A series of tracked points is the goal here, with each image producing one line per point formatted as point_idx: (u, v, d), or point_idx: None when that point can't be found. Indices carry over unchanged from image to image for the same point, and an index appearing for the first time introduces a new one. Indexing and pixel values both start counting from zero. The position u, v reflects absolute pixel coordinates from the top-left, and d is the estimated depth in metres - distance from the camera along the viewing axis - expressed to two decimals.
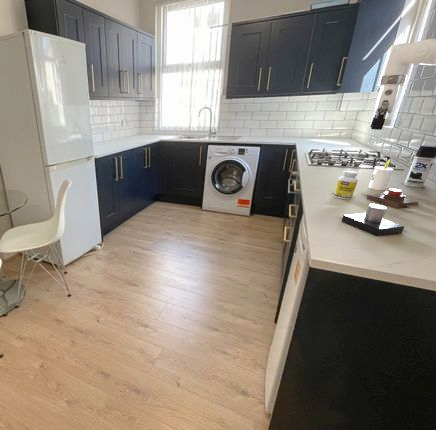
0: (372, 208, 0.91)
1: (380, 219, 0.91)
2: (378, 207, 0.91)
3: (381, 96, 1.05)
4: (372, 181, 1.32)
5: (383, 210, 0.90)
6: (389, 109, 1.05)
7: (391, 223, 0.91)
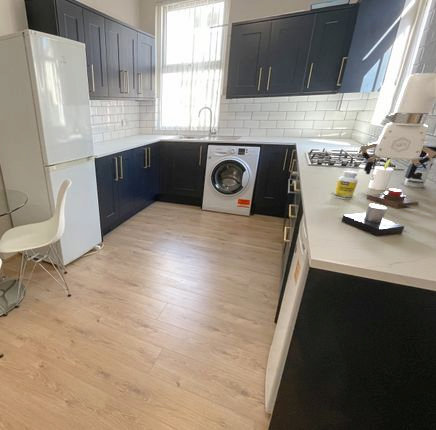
0: (372, 208, 0.91)
1: (380, 219, 0.91)
2: (378, 207, 0.91)
3: None
4: (372, 181, 1.32)
5: (383, 210, 0.90)
6: (375, 151, 0.88)
7: (391, 223, 0.91)
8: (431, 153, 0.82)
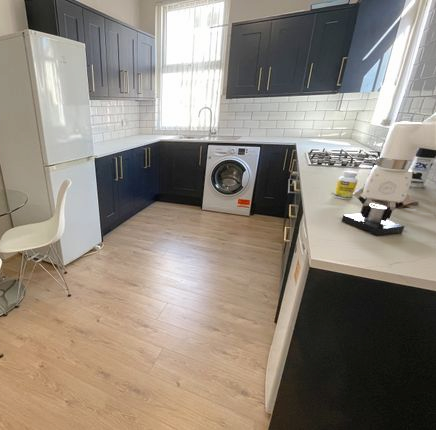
0: (372, 208, 0.91)
1: (380, 219, 0.91)
2: (378, 207, 0.91)
3: None
4: None
5: (383, 210, 0.90)
6: (363, 192, 0.91)
7: (391, 223, 0.91)
8: (407, 200, 0.87)
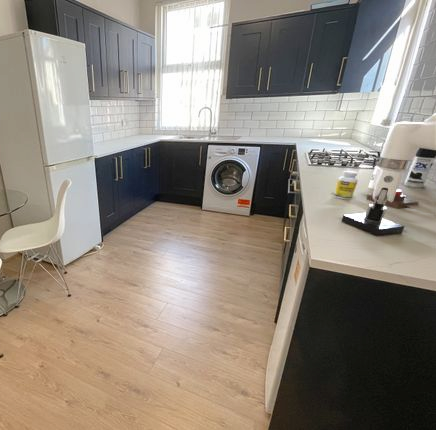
0: None
1: None
2: None
3: (379, 182, 0.86)
4: (372, 181, 1.32)
5: None
6: (389, 199, 0.86)
7: (391, 223, 0.91)
8: None
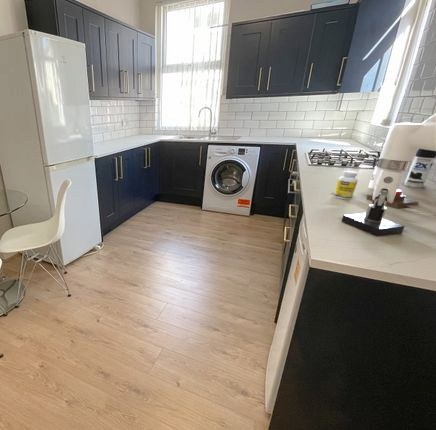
0: (384, 210, 0.90)
1: None
2: None
3: (379, 183, 0.86)
4: (372, 181, 1.32)
5: None
6: (389, 199, 0.86)
7: (391, 223, 0.91)
8: None
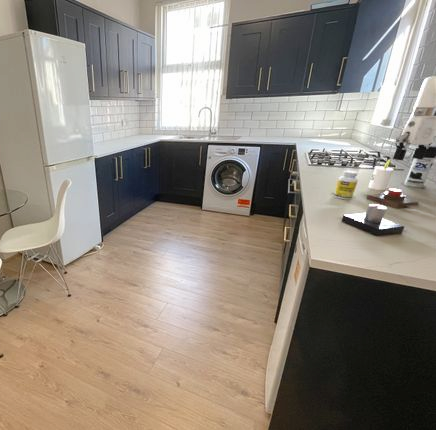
0: (384, 210, 0.90)
1: None
2: (382, 207, 0.91)
3: (405, 127, 1.06)
4: (372, 181, 1.32)
5: None
6: (410, 141, 1.04)
7: (391, 223, 0.91)
8: None
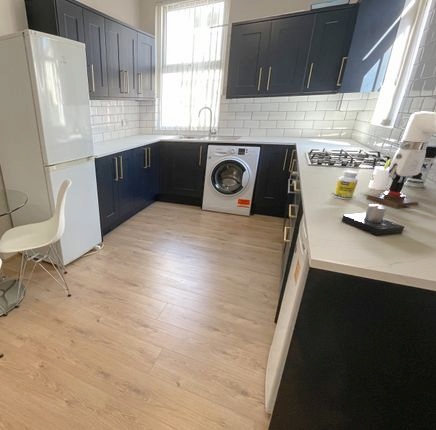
0: (384, 210, 0.90)
1: None
2: (382, 207, 0.91)
3: (393, 159, 1.11)
4: (372, 181, 1.32)
5: None
6: (397, 172, 1.09)
7: (391, 223, 0.91)
8: None
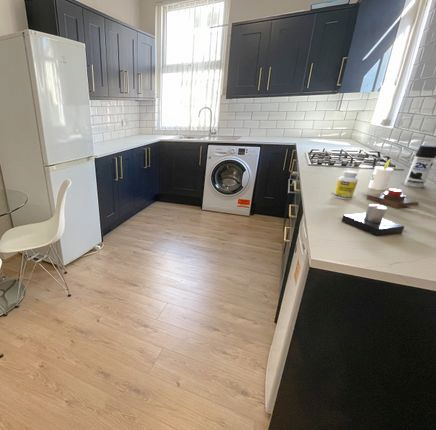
0: (384, 210, 0.90)
1: None
2: (382, 207, 0.91)
3: None
4: (372, 181, 1.32)
5: None
6: None
7: (391, 223, 0.91)
8: None
